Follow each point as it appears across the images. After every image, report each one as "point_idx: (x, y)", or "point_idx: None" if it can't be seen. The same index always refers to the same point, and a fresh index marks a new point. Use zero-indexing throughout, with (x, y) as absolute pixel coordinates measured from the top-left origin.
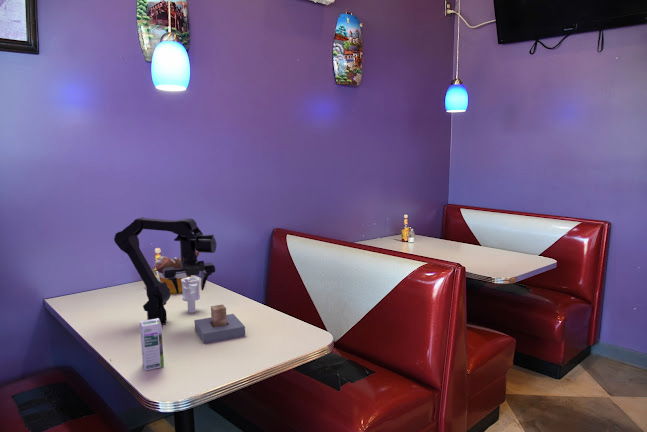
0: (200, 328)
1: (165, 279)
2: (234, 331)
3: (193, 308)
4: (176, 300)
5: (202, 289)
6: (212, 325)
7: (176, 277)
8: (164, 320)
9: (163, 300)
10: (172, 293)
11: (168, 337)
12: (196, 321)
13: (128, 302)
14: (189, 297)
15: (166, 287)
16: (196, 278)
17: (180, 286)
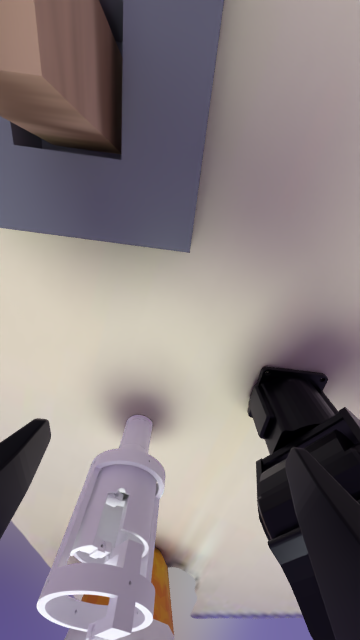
0: (212, 47)
1: (162, 616)
2: None
3: (133, 427)
4: None
5: (35, 427)
6: (112, 115)
7: None
8: (265, 385)
9: (342, 452)
10: None
11: (329, 216)
12: (186, 222)
13: (268, 546)
14: (138, 473)
15: (307, 580)
16: (54, 609)
17: None
